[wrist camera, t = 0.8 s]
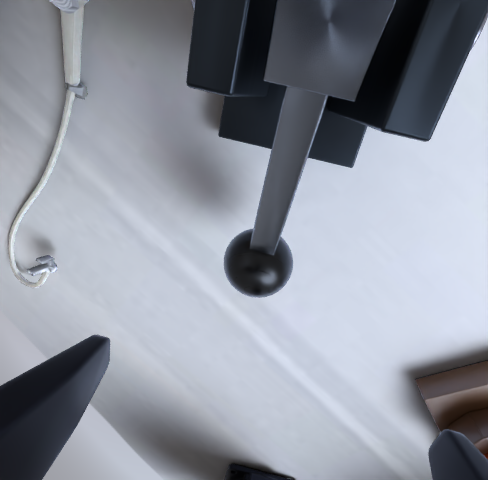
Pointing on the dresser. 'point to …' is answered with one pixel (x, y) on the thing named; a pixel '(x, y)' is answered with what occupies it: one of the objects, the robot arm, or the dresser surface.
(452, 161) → the dresser surface
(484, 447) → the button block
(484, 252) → the dresser surface
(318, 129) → the bracket
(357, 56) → the lever
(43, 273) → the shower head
